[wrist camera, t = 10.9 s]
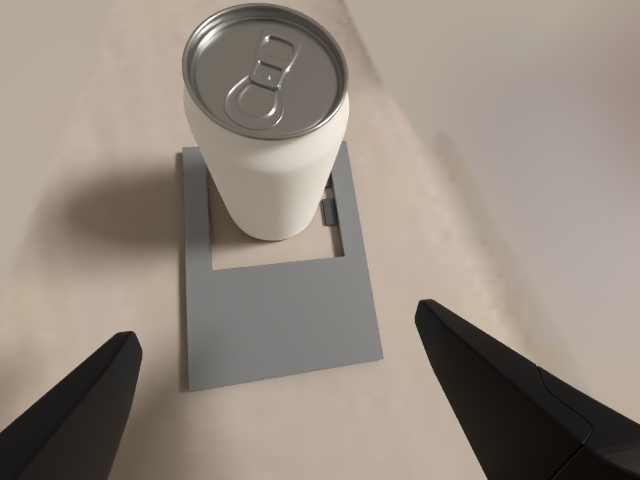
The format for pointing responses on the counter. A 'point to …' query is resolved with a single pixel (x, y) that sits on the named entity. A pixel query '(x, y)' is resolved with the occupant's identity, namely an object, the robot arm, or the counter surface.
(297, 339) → the board
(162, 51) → the counter surface
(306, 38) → the can
